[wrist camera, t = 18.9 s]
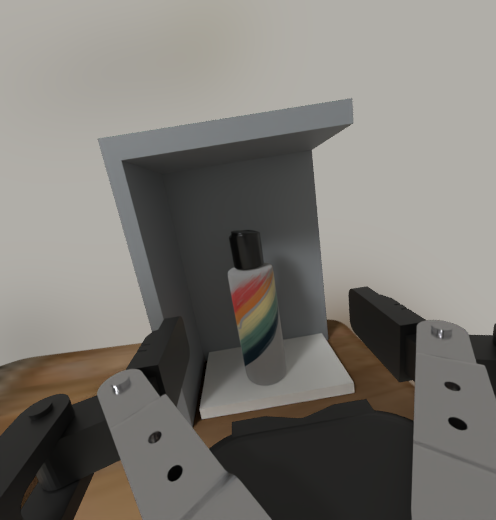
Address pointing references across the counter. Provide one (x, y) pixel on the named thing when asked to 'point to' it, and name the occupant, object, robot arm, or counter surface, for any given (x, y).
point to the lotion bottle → (256, 309)
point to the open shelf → (223, 220)
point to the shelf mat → (281, 393)
